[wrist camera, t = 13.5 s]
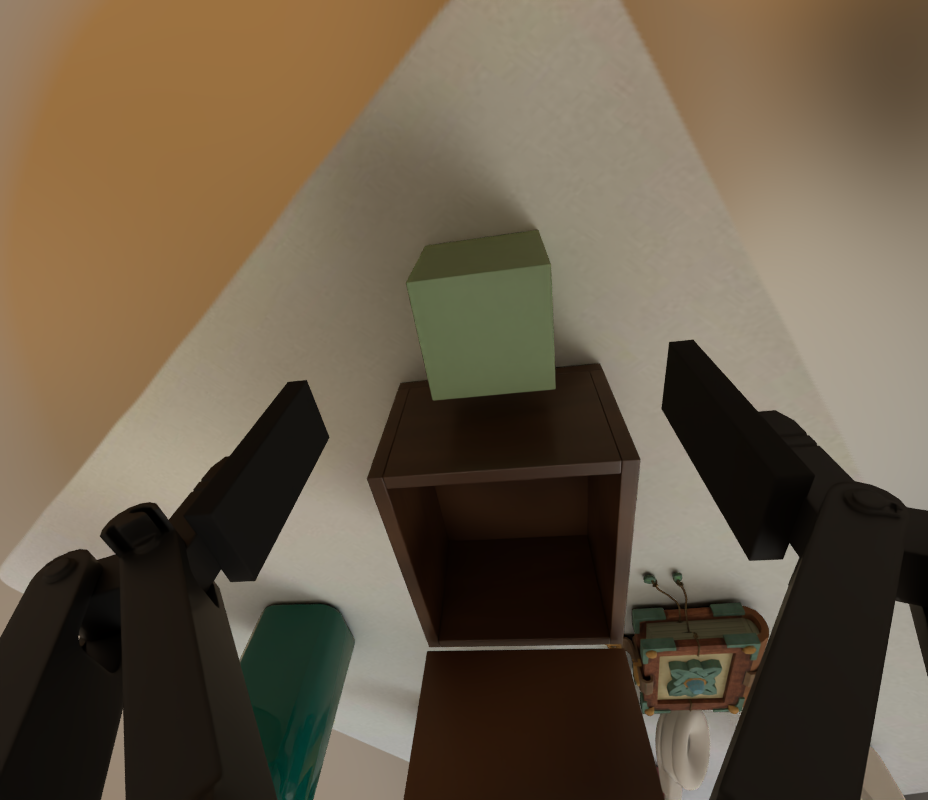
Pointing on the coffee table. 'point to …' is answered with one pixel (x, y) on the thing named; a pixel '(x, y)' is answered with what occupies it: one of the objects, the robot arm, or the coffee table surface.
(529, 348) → the block
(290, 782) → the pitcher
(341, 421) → the coffee table surface
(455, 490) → the bin
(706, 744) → the headphones
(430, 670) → the bin lid
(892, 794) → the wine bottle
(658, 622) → the decorative book
